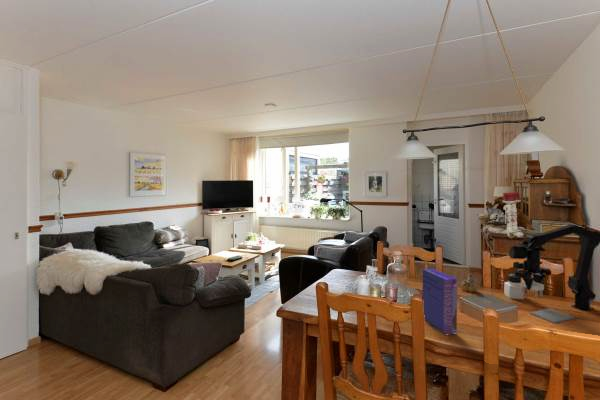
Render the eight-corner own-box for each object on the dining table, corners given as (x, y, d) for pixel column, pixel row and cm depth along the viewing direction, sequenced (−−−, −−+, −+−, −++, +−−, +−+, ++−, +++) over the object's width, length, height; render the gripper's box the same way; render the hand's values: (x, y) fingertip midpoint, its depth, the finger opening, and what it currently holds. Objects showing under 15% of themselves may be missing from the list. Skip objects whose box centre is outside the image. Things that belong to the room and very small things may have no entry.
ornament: (460, 291, 186) (460, 274, 185) (463, 288, 190) (463, 271, 190) (475, 294, 180) (475, 276, 180) (477, 291, 185) (478, 274, 184)
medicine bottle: (524, 299, 171) (524, 277, 170) (509, 298, 172) (510, 277, 171) (518, 294, 178) (518, 273, 177) (504, 294, 179) (504, 273, 178)
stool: (527, 291, 167) (528, 280, 167) (543, 296, 159) (544, 284, 159) (521, 292, 165) (521, 281, 165) (536, 297, 158) (537, 286, 157)
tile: (549, 309, 157) (549, 308, 157) (574, 318, 147) (574, 317, 147) (529, 313, 153) (529, 312, 153) (554, 323, 143) (554, 321, 143)
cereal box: (456, 334, 134) (457, 278, 133) (446, 335, 133) (447, 279, 132) (431, 317, 151) (431, 267, 150) (422, 318, 150) (422, 268, 149)
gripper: (530, 254, 172) (529, 282, 173) (505, 257, 166) (504, 286, 167) (552, 258, 161) (551, 288, 162) (526, 262, 155) (525, 293, 156)
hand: (532, 289), depth 162 cm, fingers closed on stool, 5 cm apart
